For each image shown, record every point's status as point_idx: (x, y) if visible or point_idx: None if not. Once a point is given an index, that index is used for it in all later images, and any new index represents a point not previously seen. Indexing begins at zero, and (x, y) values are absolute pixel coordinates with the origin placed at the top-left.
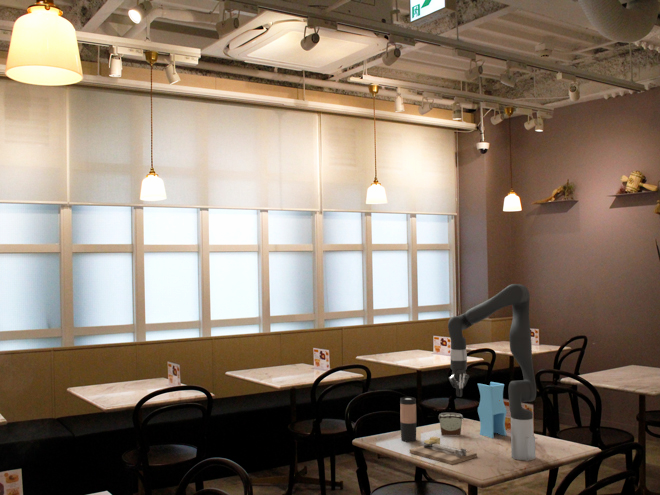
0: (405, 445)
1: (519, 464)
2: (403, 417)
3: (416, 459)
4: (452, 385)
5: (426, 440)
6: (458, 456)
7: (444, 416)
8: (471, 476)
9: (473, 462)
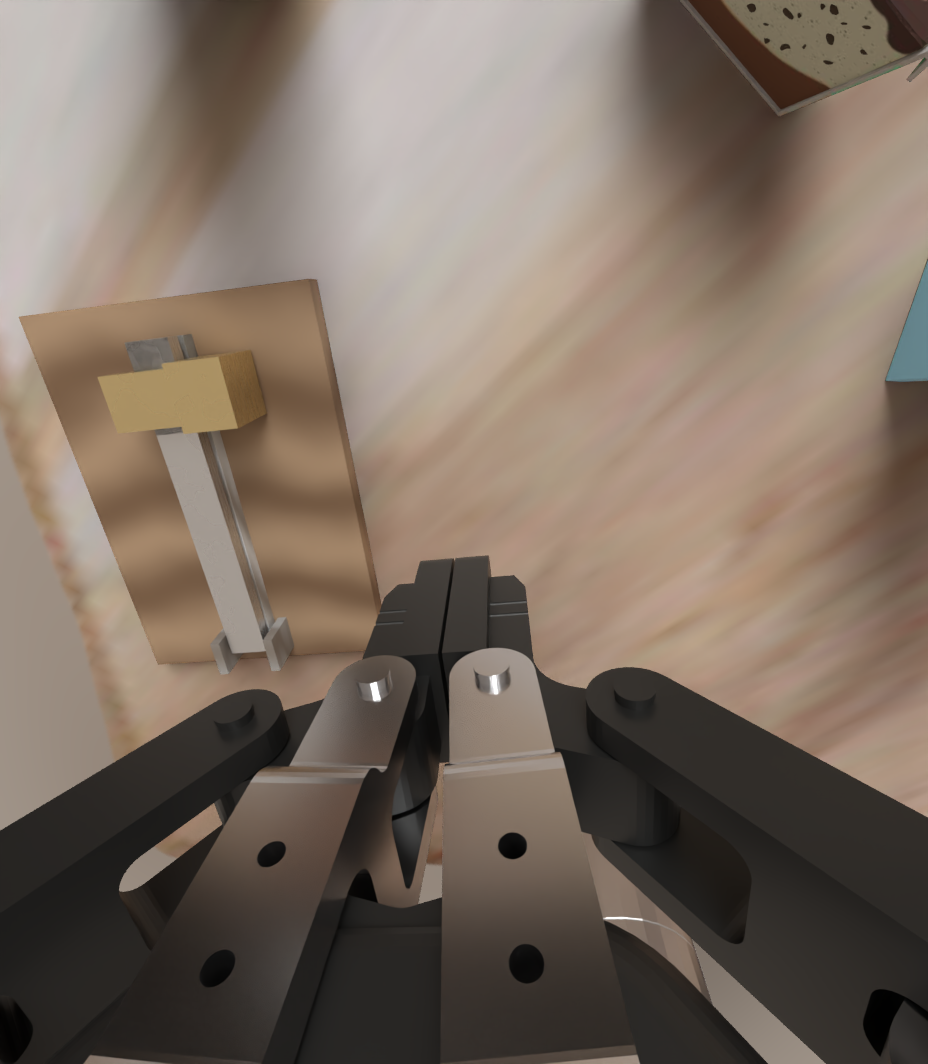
0: (101, 87)
1: None
2: None
3: (20, 470)
4: (157, 755)
5: (115, 387)
6: None
7: None
8: None
9: (298, 688)
